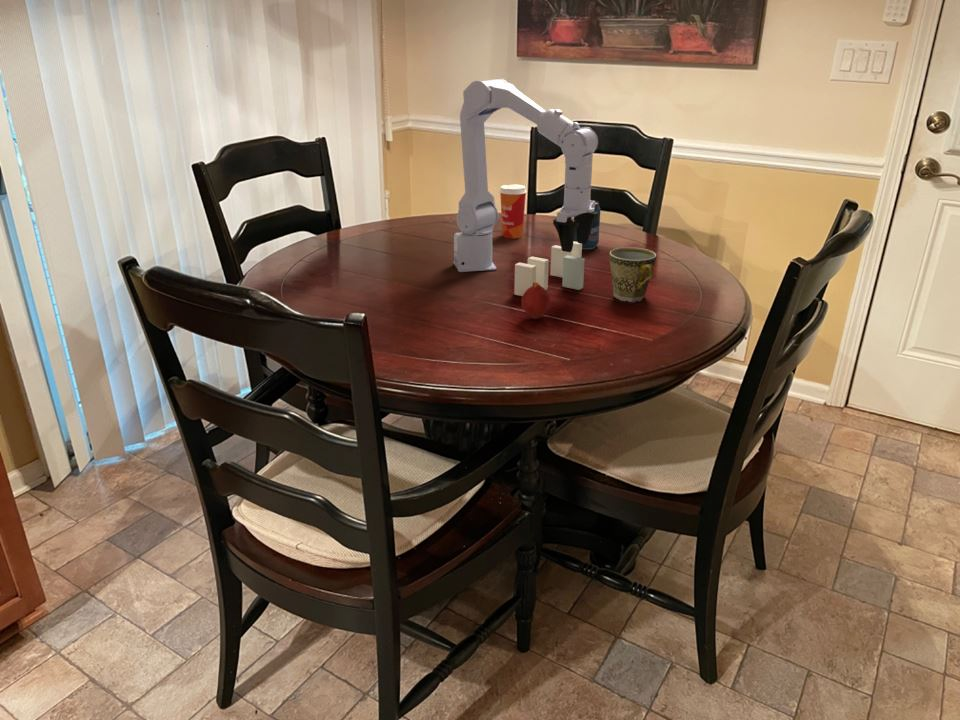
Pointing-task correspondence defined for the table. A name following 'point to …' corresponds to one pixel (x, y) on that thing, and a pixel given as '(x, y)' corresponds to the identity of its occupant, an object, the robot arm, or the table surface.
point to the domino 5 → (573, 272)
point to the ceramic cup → (631, 272)
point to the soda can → (592, 231)
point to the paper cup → (512, 210)
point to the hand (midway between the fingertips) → (574, 247)
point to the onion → (535, 301)
